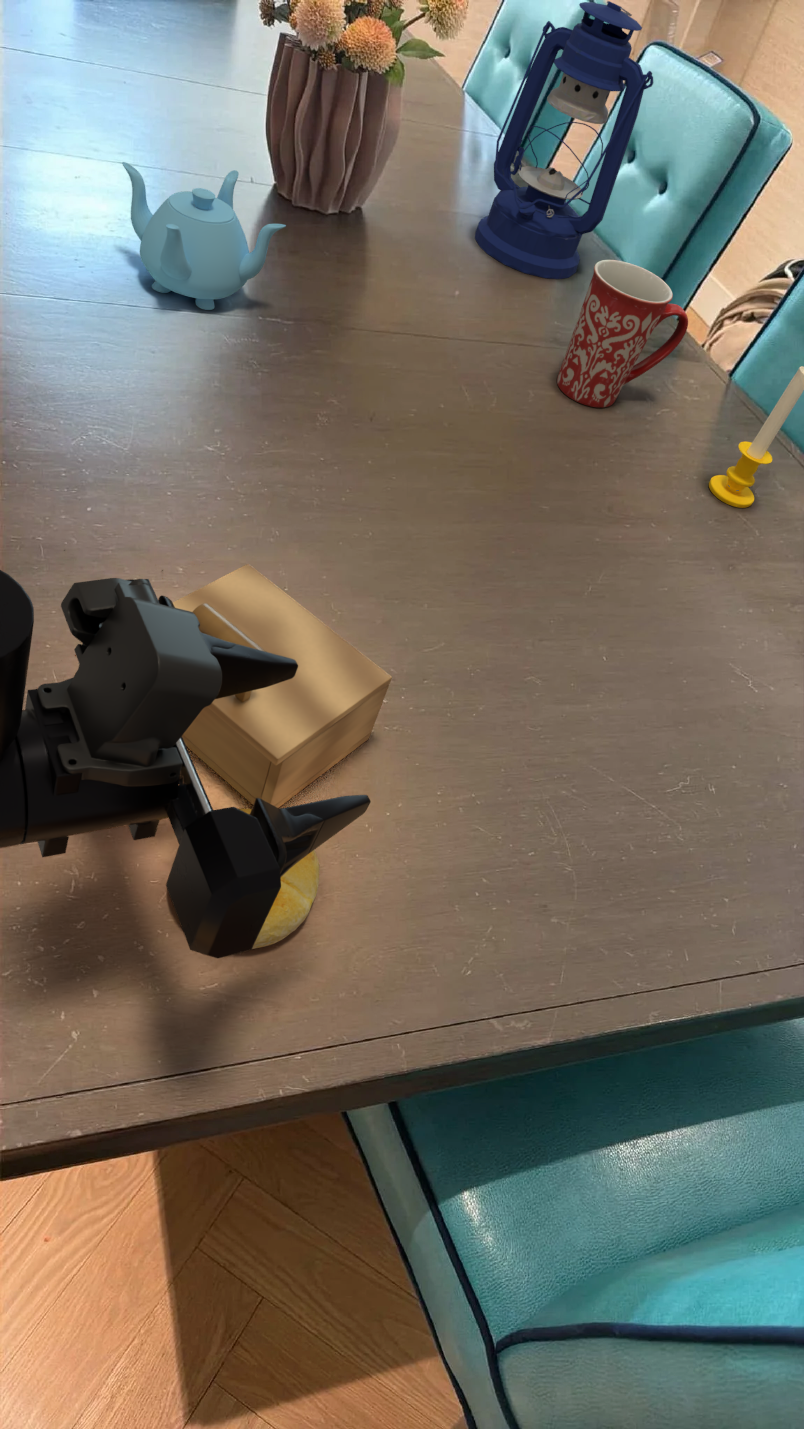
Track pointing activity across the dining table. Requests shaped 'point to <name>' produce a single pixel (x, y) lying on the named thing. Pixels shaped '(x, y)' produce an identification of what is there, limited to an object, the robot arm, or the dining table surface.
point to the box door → (284, 627)
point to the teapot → (196, 241)
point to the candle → (756, 451)
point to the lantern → (537, 218)
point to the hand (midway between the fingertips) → (329, 733)
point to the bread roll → (290, 900)
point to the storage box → (292, 774)
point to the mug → (616, 332)
